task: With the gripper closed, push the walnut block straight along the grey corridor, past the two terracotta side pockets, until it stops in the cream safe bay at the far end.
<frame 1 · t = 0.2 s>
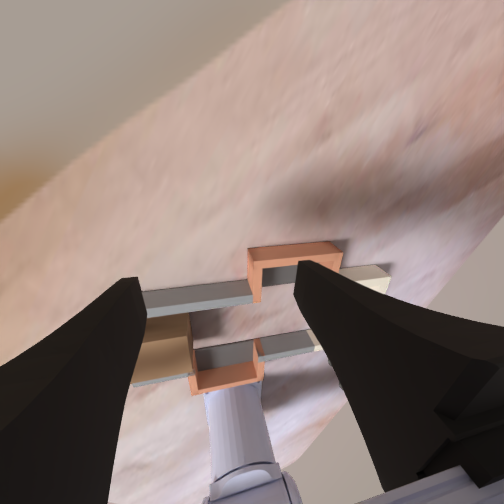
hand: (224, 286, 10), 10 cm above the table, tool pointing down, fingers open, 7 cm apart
walnut block: (161, 327, 23), on the table
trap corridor: (260, 313, 25), on the table
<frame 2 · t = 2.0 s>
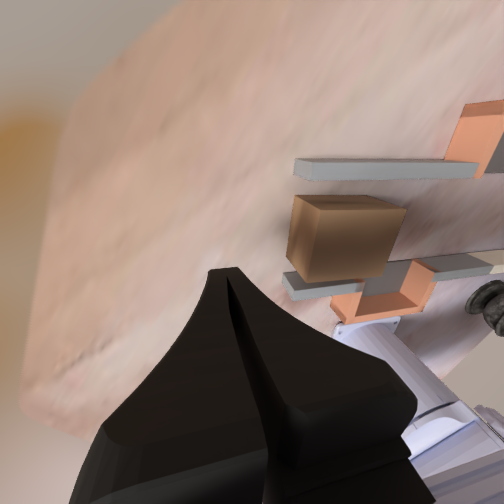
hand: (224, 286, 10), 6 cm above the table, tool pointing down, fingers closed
walnut block: (323, 226, 18), on the table
salt shaker: (482, 296, 28), on the table
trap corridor: (434, 219, 20), on the table
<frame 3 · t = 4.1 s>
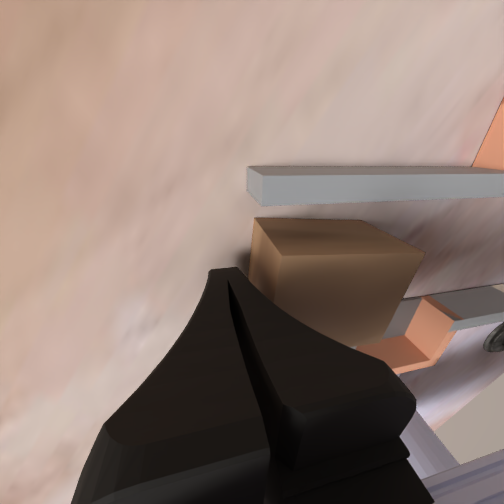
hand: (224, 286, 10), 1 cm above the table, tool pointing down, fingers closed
walnut block: (300, 260, 12), on the table, touching gripper
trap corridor: (452, 247, 14), on the table
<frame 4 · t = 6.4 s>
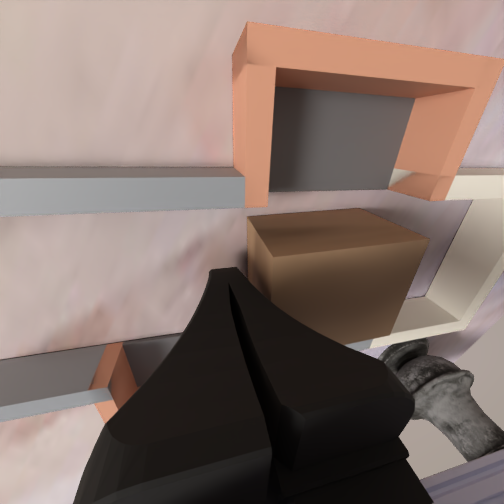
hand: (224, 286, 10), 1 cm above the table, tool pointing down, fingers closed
walnut block: (301, 256, 12), on the table, touching gripper
salt shaker: (399, 354, 20), on the table
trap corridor: (264, 266, 12), on the table
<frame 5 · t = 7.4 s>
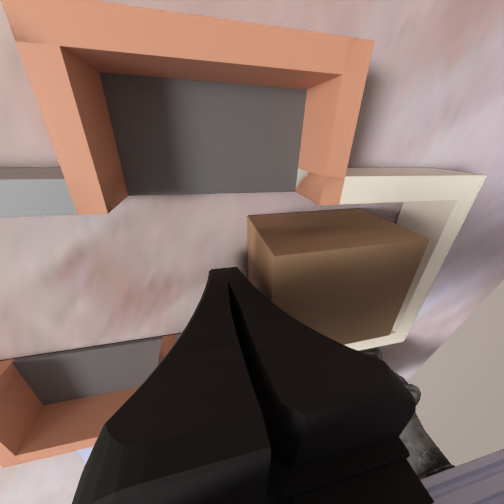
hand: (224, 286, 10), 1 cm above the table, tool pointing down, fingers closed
walnut block: (301, 255, 12), on the table, touching gripper
salt shaker: (351, 364, 19), on the table
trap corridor: (166, 276, 11), on the table
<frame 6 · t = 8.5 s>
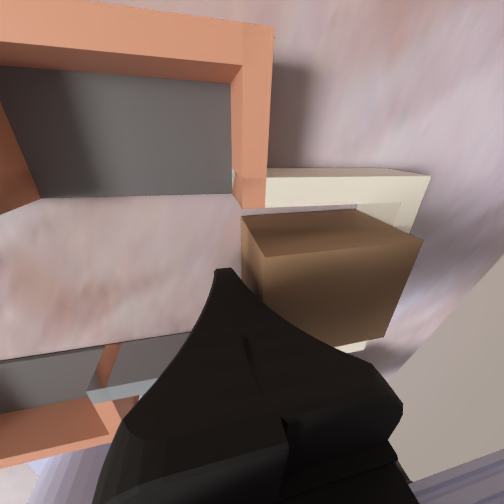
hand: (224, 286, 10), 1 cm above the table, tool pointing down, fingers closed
walnut block: (295, 256, 12), on the table, touching gripper, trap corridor
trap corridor: (100, 282, 10), on the table
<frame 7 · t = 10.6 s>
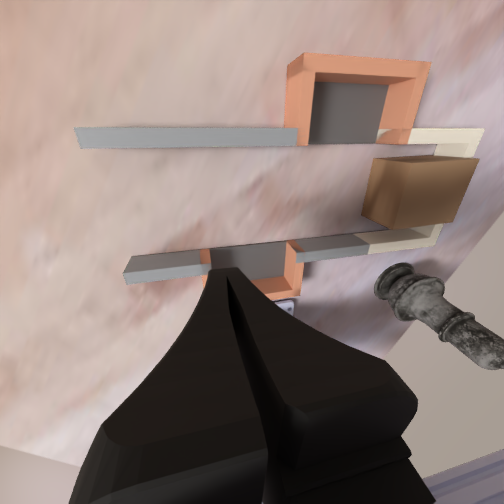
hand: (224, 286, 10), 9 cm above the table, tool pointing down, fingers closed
walnut block: (393, 185, 20), on the table
salt shaker: (392, 280, 26), on the table
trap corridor: (298, 196, 18), on the table
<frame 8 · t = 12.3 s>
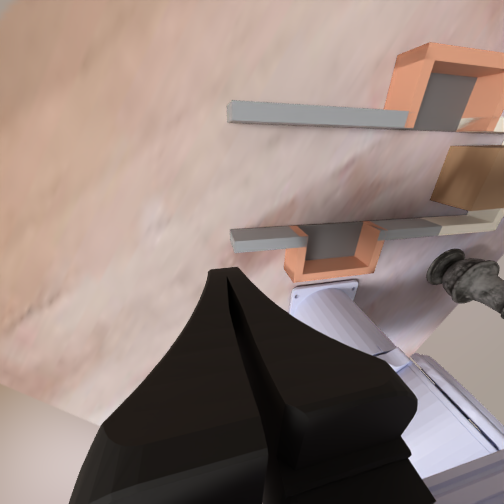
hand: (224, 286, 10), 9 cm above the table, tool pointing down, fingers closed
walnut block: (462, 173, 22), on the table
salt shaker: (443, 266, 28), on the table
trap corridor: (380, 179, 20), on the table
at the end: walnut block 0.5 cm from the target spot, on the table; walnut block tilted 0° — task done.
